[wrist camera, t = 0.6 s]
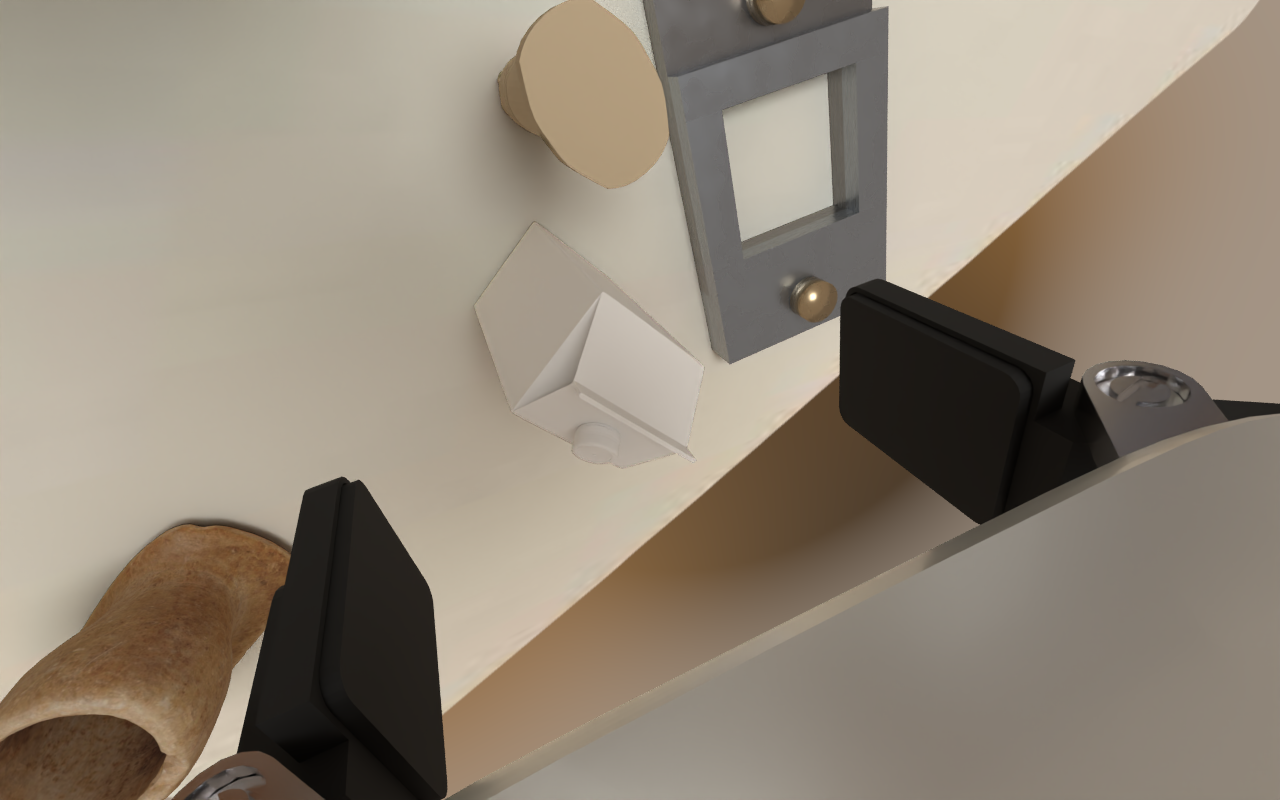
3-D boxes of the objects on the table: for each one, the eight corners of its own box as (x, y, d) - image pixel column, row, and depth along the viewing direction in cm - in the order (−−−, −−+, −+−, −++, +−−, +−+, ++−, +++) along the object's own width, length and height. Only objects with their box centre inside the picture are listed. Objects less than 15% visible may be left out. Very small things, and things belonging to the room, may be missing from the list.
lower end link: (637, -30, 32) (657, -39, 30) (854, -94, 35) (890, -108, 32) (700, 290, 44) (719, 303, 41) (860, 224, 46) (887, 233, 44)
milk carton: (533, 219, 37) (635, 323, 21) (612, 279, 41) (745, 403, 25) (472, 305, 38) (526, 462, 23) (554, 356, 42) (648, 518, 27)
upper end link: (658, 76, 35) (689, 77, 32) (856, 10, 38) (907, 3, 34) (712, 349, 47) (739, 372, 43) (861, 284, 49) (899, 301, 46)
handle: (518, 8, 31) (598, -34, 19) (586, 113, 35) (690, 134, 23) (452, 66, 31) (491, 61, 19) (528, 164, 35) (600, 212, 23)
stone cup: (145, 482, 36) (19, 691, 24) (325, 547, 43) (299, 734, 30) (17, 642, 38) (-160, 911, 25) (210, 679, 44) (142, 905, 32)
